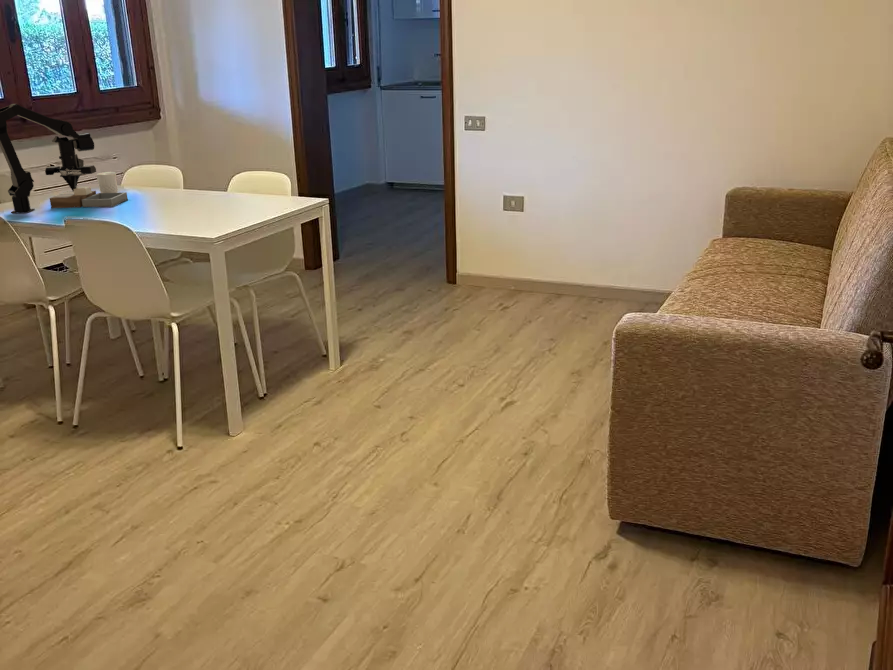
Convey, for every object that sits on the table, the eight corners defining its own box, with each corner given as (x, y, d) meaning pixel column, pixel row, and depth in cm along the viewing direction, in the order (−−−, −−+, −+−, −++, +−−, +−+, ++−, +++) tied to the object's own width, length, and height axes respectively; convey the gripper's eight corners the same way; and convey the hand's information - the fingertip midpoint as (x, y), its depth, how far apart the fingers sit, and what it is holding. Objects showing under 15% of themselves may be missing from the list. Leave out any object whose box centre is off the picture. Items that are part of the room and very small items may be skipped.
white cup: (119, 197, 354) (115, 173, 351) (100, 199, 351) (96, 175, 348) (119, 194, 361) (115, 171, 358) (100, 196, 358) (96, 172, 355)
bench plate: (80, 207, 334) (78, 197, 332) (51, 207, 334) (49, 198, 333) (97, 200, 349) (95, 190, 347) (69, 200, 349) (67, 191, 348)
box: (112, 206, 333) (111, 199, 332) (82, 207, 334) (81, 199, 333) (127, 199, 348) (126, 192, 347) (99, 200, 349) (98, 192, 348)
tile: (86, 194, 338) (85, 188, 337) (74, 195, 338) (73, 189, 337) (91, 192, 342) (90, 186, 341) (79, 193, 342) (78, 187, 342)
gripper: (98, 149, 342) (104, 187, 347) (54, 150, 342) (61, 188, 348) (87, 153, 331) (93, 192, 337) (41, 154, 332) (48, 193, 337)
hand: (74, 191), depth 340 cm, fingers closed
